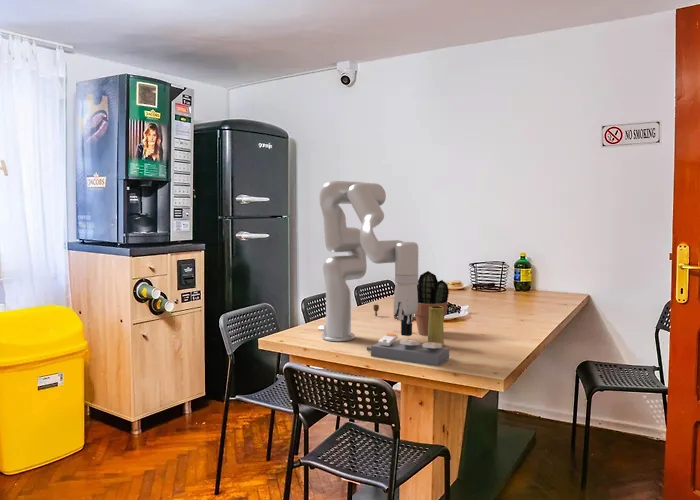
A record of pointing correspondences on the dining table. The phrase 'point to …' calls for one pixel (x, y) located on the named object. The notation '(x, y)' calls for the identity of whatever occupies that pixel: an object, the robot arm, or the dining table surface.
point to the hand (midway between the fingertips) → (406, 335)
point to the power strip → (410, 353)
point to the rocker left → (387, 339)
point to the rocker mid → (409, 342)
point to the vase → (436, 325)
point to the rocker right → (432, 345)
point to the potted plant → (429, 299)
